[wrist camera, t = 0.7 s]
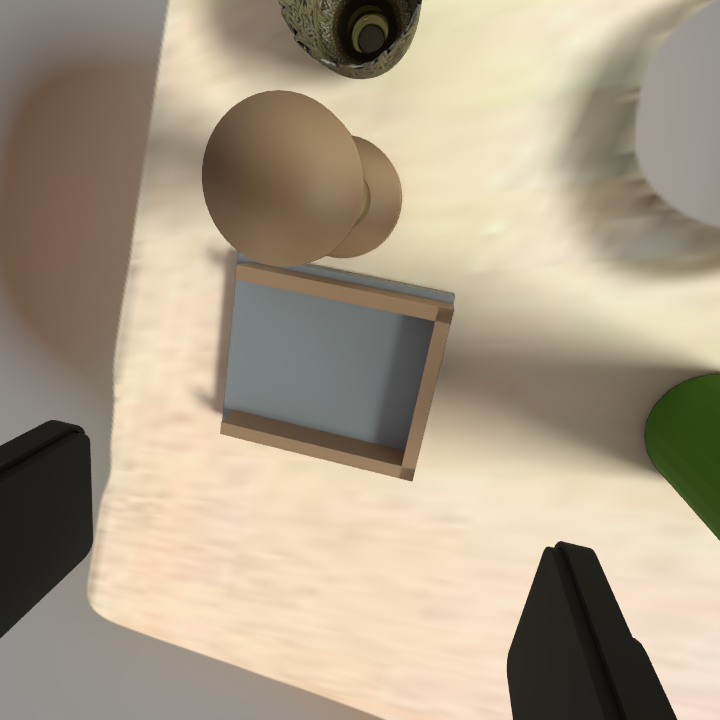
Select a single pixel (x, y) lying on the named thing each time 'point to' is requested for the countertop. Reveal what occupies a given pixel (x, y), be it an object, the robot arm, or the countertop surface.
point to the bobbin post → (297, 182)
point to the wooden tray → (334, 364)
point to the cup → (352, 32)
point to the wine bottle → (690, 444)
